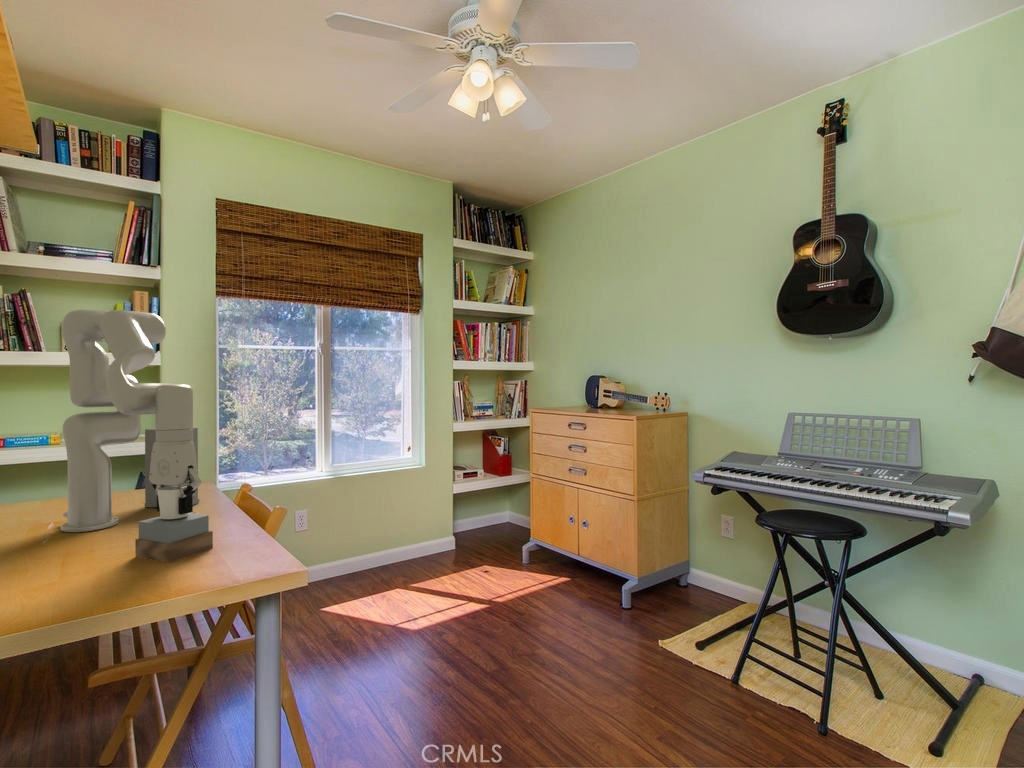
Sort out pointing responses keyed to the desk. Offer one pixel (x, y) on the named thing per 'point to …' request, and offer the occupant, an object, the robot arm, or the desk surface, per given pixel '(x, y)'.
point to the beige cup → (169, 502)
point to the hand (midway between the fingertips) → (174, 511)
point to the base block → (173, 548)
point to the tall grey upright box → (149, 490)
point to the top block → (173, 528)
